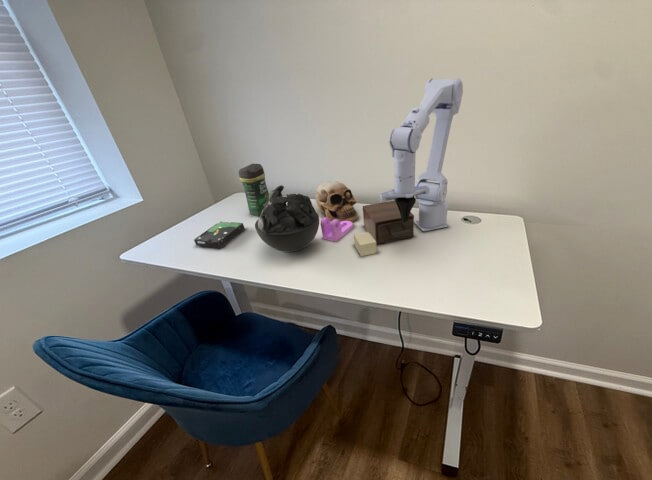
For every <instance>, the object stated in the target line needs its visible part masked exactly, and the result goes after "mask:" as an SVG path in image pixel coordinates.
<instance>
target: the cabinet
mask: <svg viewBox="0 0 652 480" xmlns="http://www.w3.org/2000/svg"><path fill="white" fill-rule="evenodd" d="M362 217H363V227H364V229H365V230H366V232H369V233H370V234H371V236H372V237H373V238H374V240H375V241H376V245H379V244H381V243H378V236H377V224H380V223H385V222H390V221H396V220H401V215H400V211H399V208H398V206H397V204H396V202H395V200H394V199H393V200H388V201H386V202H378V203H373V204H372V203H371V204H367V205H362ZM410 218H413V219H414V220H415V215H414V214H413V213H412V211H411V212H410V215H409V219H410ZM414 226H415V223H414V224H413V232H414V231H415V229H414V228H415V227H414ZM410 238H411V237H408V238H407V239H410ZM405 239H406V238H403V239H402V240H405ZM400 240H401V239H398V240H397V241H400ZM395 241H396V240H393V241H392V242H395ZM389 242H390V243H391V241H388V242H387V243H389ZM382 244H386V242H383V243H382Z"/></svg>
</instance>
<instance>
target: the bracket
mask: <svg viewBox="0 0 652 480" xmlns="http://www.w3.org/2000/svg"><path fill="white" fill-rule="evenodd" d="M353 223H354V222H351V221H341V222H340V221H339V220H336V219H334V220H333V221H332V220H330V219H329V218H327V217H326V216H324V217H322V218H321V220H320V230H321V235H322V239H323V240H327V241H330V242H331V241H332V242H338V241H339V240H340V239H341V238H343V237H344V236H345V235H346V234H348V233H349V232H350V231H351V230H352V229H354V224H353Z"/></svg>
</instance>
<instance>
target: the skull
mask: <svg viewBox="0 0 652 480" xmlns="http://www.w3.org/2000/svg"><path fill="white" fill-rule="evenodd" d="M314 197H315V198H314V199H315V202H316V206H317V208H318V209H319V211H321V212H322V213H324V214H325V218H329V219H330V221H331V222H332V221H333V220H334V219H336V220H339V221H340V222H341V221H351V222H352V223H354V222H356V221H357V220H358V219H359V217H358V216H359V215H358V213H357V211H356V209H355V207H354V206H355V205H356V204H357V203H358V201H357V199H356V198H355V197H354V195H353V192H352V190H351V189H350V188H348V187H347V186H346V185H345V184H344V183H343V182H340V181H336V180H331V181H326V182H323V183H321V184H320V185H319V186H318V187H317V188H316V190H315V196H314Z"/></svg>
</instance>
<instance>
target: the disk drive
mask: <svg viewBox="0 0 652 480" xmlns="http://www.w3.org/2000/svg"><path fill="white" fill-rule="evenodd" d="M245 229H246V228H245V225H244V223H243V222H233V221H231V222H227V221H220V222H218V223H215V224H214V225H213V226H211V227H210V228H208V229H207V230H205V231H204V232H202V233H201V234H199V235H198V236H196V237H195V238H194V239H193V241H194V244H195V246H198V247H207V248H216V249H221V248H223V247H225V246H226V245H227V244H228V243H229V242H231V241H232V240H233V239H234V238H235V237H237V236H238V235H239V234H241V233H242V232H244V230H245Z"/></svg>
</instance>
